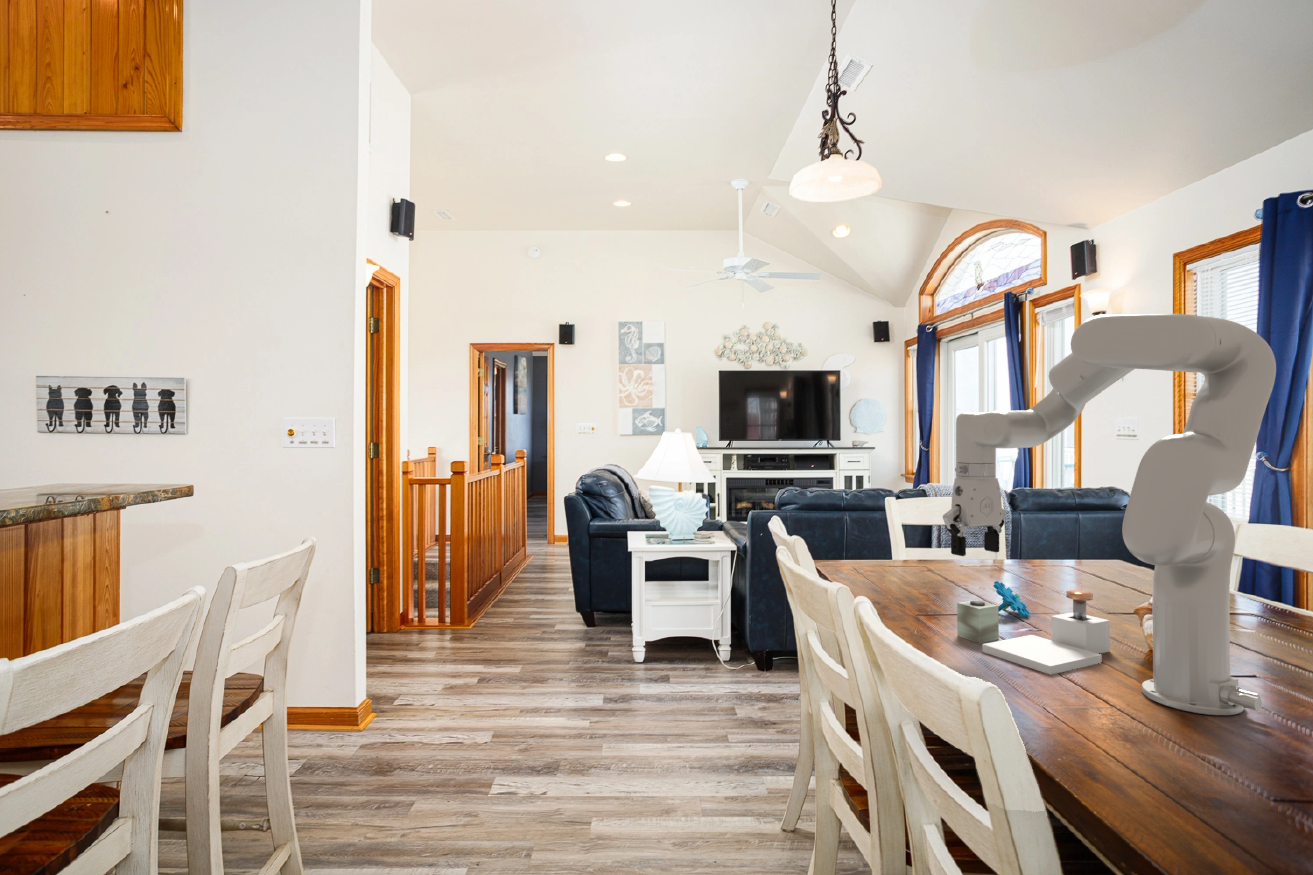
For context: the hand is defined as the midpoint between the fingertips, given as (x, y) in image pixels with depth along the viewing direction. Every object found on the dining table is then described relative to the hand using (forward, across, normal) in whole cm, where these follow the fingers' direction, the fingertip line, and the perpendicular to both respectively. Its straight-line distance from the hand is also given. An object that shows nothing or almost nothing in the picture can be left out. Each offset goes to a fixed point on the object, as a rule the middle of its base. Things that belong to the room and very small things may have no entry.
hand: (975, 553), depth 140 cm
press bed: (+17, +4, -15) cm, 23 cm away
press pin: (+12, +11, -15) cm, 22 cm away
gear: (+18, +22, +8) cm, 30 cm away
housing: (+18, 0, -1) cm, 18 cm away
